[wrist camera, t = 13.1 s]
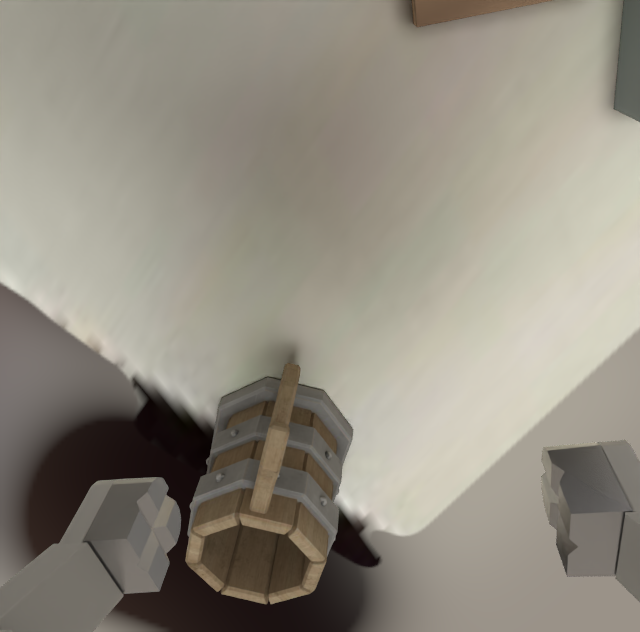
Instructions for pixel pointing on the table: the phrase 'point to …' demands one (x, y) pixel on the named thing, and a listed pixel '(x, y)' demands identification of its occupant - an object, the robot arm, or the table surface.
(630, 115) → the slate socket block
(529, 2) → the walnut mount
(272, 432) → the tankard
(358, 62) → the table surface
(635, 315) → the table surface
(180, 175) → the table surface
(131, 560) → the robot arm
